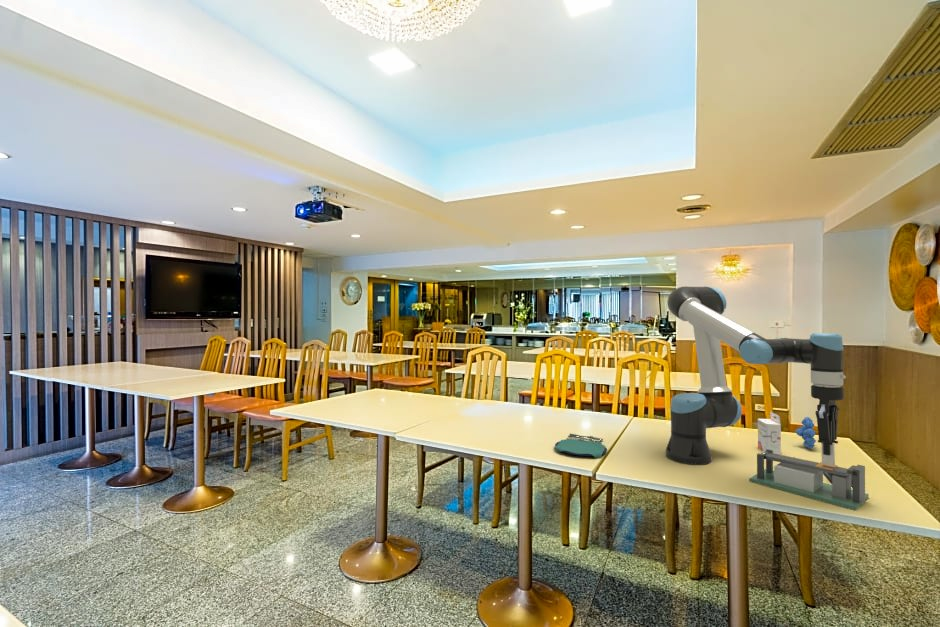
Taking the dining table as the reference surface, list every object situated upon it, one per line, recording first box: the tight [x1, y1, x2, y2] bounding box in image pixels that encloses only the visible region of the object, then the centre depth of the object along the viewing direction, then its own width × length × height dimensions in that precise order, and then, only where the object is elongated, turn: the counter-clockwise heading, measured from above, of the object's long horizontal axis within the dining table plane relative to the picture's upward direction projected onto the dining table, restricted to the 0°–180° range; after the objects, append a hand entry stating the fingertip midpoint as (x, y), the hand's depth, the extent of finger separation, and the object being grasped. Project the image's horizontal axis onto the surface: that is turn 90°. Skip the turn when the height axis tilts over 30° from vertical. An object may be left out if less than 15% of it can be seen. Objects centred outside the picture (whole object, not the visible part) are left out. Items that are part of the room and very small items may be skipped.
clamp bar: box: [760, 451, 849, 477], centre depth 134 cm, size 22×5×2 cm, turn 37°
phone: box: [823, 472, 853, 489], centre depth 142 cm, size 8×1×15 cm
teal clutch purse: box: [554, 433, 608, 459], centre depth 176 cm, size 20×30×2 cm, turn 156°
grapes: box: [795, 416, 817, 450], centre depth 175 cm, size 12×7×12 cm, turn 153°
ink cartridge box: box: [757, 411, 782, 455], centre depth 170 cm, size 9×5×15 cm, turn 168°
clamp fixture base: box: [748, 449, 870, 511], centre depth 133 cm, size 26×14×10 cm, turn 37°
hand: (828, 465), depth 129 cm, fingers closed
